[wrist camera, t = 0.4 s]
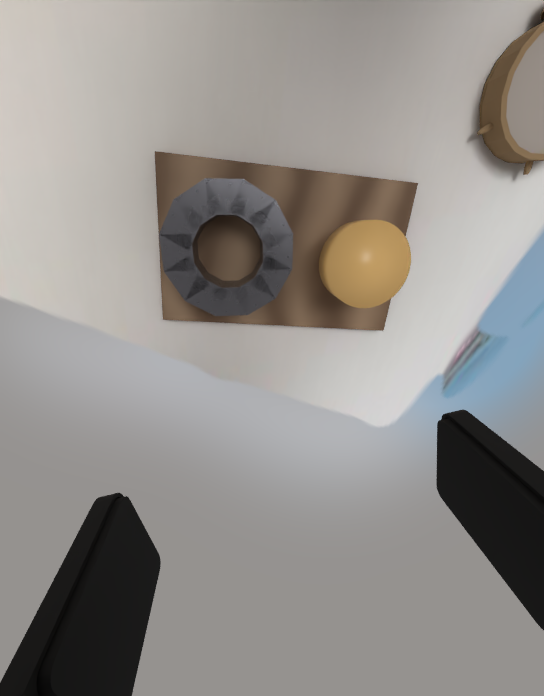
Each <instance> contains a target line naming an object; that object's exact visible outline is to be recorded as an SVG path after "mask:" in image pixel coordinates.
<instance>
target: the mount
mask: <svg viewBox="0 0 544 696" xmlns="http://www.w3.org/2000/svg"><path fill="white" fill-rule="evenodd" d="M155 165H156V186H157V206H158V227H159V233H160V230H161V228H162V225H163V223H164V221H165V218H166V216H167V214H168V211H169V209H170V207H171V204H172V202H173V199H175V198H176V197H178V196H179V195H181V194H182V193H184V192H185V191H187V190H188V189H190V188H191V187H193V186H194V185H196V184H197V183H199V182H200V181H202V180H203V179H205V178H222V179H245V180H246V181H248V182H249V183H251V184H252V185H254V186H255V187H257V188H258V189H260V190H261V191H263V192H264V193H266V194H267V195H269V196H271V197H272V198H274V199H275V200H276V201H277V203H278V205H279V207H280V209H281V211H282V213H283V215H284V217H285V219H286V221H287V223H288V225H289V227H290V229H291V231H292V232H293V261H292V271H291V273H290V274H289V276H288V278H287V280H286V281H285V283H284V285H283V287H282V288H281V290H280V292H279V294H278V295H277V297H276V298H275V299H274V300H272V301H271V302H269V303H267V304H266V305H264V306H262V307H261V308H259V309H257V310H256V311H254V312H252V313H251V314H249V315H236V316H214V315H212V314H210V313H208V312H206V311H204V310H202V309H200V308H198V307H196V306H194V305H192V304H190V303H188V302H186V301H185V300H184V299H183V298H182V296H181V295H180V293H179V292H178V291H177V289H176V288H175V286H174V285H173V284H172V282H171V281H170V280H169V278H168V277H167V275H166V274H165V273H164V270H163V262H162V255H161V247H160V240H159V247H160V268H161V289H162V309H163V319H164V320H184V321H204V322H224V323H244V324H264V325H284V326H304V327H324V328H344V329H364V330H384V326H385V322H386V317H387V313H388V309H389V305H390V300H391V299H389V300H388V301H386V302H385V303H383V304H381V305H378V306H375V307H371V308H356V307H352V306H349V305H347V304H345V303H344V302H342V301H341V300H340V299H338V298H337V297H335V296H334V295H333V294H331V293H330V292H329V291H328V290H327V289H326V287H325V286H324V284H323V282H322V280H321V277H320V273H319V258H320V254H321V251H322V248H323V246H324V244H325V242H326V241H327V239H328V238H329V236H330V235H331V234H332V233H333V232H334V231H335V230H336V229H338V228H339V227H341V226H342V225H344V224H346V223H349V222H352V221H359V220H383V221H387V222H389V223H391V224H393V225H395V226H396V227H397V228H398V229H400V230H401V232H402V233H403V234H404V236H406V232H407V228H408V223H409V219H410V215H411V210H412V206H413V202H414V198H415V193H416V189H417V185H418V183H412V182H403V181H395V180H387V179H379V178H370V177H362V176H354V175H346V174H337V173H329V172H321V171H313V170H304V169H296V168H288V167H280V166H271V165H263V164H255V163H246V162H238V161H230V160H222V159H213V158H205V157H197V156H189V155H180V154H172V153H164V152H156V151H155ZM197 242H198V253H199V259H200V261H201V262H202V264H203V265H204V267H205V268H206V270H207V271H208V273H210V274H212V275H213V276H215V277H217V278H219V279H221V280H223V281H232V280H240V279H242V278H244V277H245V276H247V275H248V274H250V273H252V272H253V270H254V268H255V266H256V264H257V263H258V261H259V259H260V240H259V238H258V236H257V235H256V233H255V231H254V229H253V227H252V226H251V225H250V224H248V223H247V222H245V221H243V220H242V219H240V218H239V217H237V216H218V217H217V218H215V219H214V220H212V221H211V222H209V223H207V224H206V225H205V226H204V228H203V230H202V232H201V234H200V236H199V239H198V241H197Z"/></svg>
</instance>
